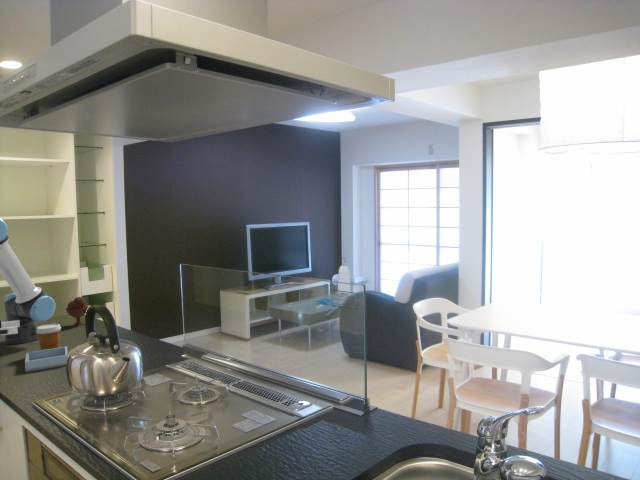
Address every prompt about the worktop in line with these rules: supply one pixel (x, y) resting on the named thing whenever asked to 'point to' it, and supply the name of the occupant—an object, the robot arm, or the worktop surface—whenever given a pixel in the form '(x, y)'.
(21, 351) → the worktop surface
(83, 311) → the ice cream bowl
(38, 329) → the disposable coffee cup
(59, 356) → the tote
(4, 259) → the robot arm
